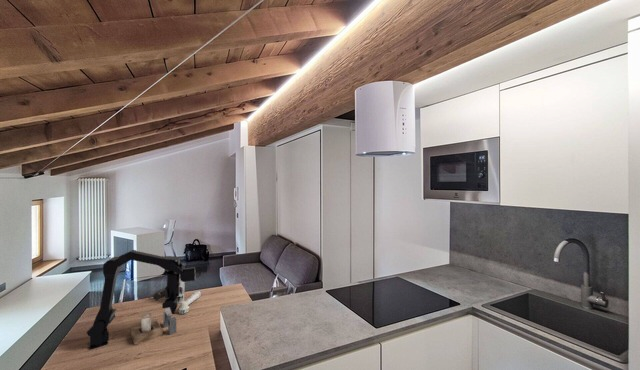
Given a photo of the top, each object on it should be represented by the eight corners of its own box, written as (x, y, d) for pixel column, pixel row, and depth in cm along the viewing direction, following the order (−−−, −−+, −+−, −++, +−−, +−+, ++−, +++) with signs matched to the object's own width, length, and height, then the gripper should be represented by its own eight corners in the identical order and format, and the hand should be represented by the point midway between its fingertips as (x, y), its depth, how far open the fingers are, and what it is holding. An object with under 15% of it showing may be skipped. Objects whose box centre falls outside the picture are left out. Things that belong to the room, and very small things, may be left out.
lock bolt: (168, 316, 140) (168, 312, 140) (164, 312, 145) (165, 308, 145) (172, 315, 142) (172, 311, 142) (169, 311, 146) (169, 307, 146)
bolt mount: (169, 334, 137) (169, 320, 137) (163, 325, 145) (163, 312, 145) (176, 332, 139) (176, 318, 139) (169, 323, 147) (169, 310, 147)
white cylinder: (142, 338, 134) (142, 317, 134) (140, 334, 137) (140, 314, 137) (151, 335, 137) (152, 315, 136) (150, 331, 140) (150, 312, 139)
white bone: (202, 290, 183) (187, 301, 158) (201, 300, 182) (186, 314, 157) (194, 290, 182) (177, 301, 158) (193, 301, 182) (176, 314, 157)
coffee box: (166, 301, 174) (166, 276, 173) (175, 297, 179) (175, 273, 179) (175, 305, 169) (175, 278, 169) (184, 301, 175) (185, 275, 175)
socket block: (134, 344, 128) (134, 338, 128) (130, 334, 137) (130, 328, 137) (162, 335, 136) (162, 329, 136) (156, 326, 145) (156, 320, 145)
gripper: (159, 278, 144) (159, 307, 145) (149, 292, 127) (149, 325, 127) (182, 275, 148) (182, 304, 148) (176, 289, 130) (176, 322, 131)
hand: (173, 313), depth 138 cm, fingers closed
